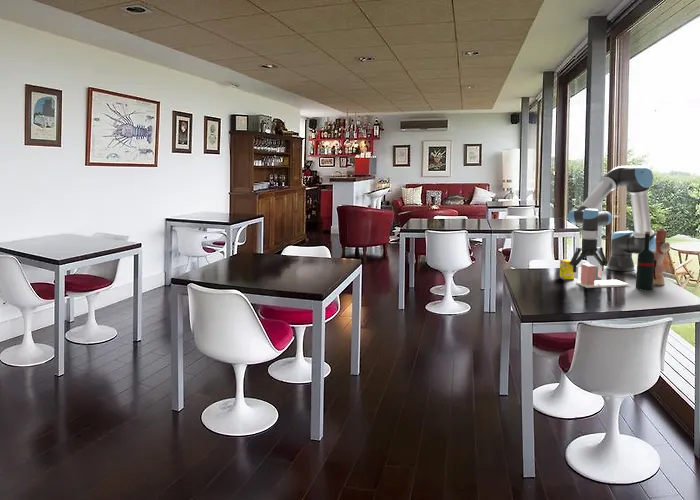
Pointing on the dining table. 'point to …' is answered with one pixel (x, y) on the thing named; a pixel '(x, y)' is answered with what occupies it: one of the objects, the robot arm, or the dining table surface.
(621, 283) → the white flat slab
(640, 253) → the wine bottle
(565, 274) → the supplement box
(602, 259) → the robot arm
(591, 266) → the pink rectangular block
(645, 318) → the dining table surface
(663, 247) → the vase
